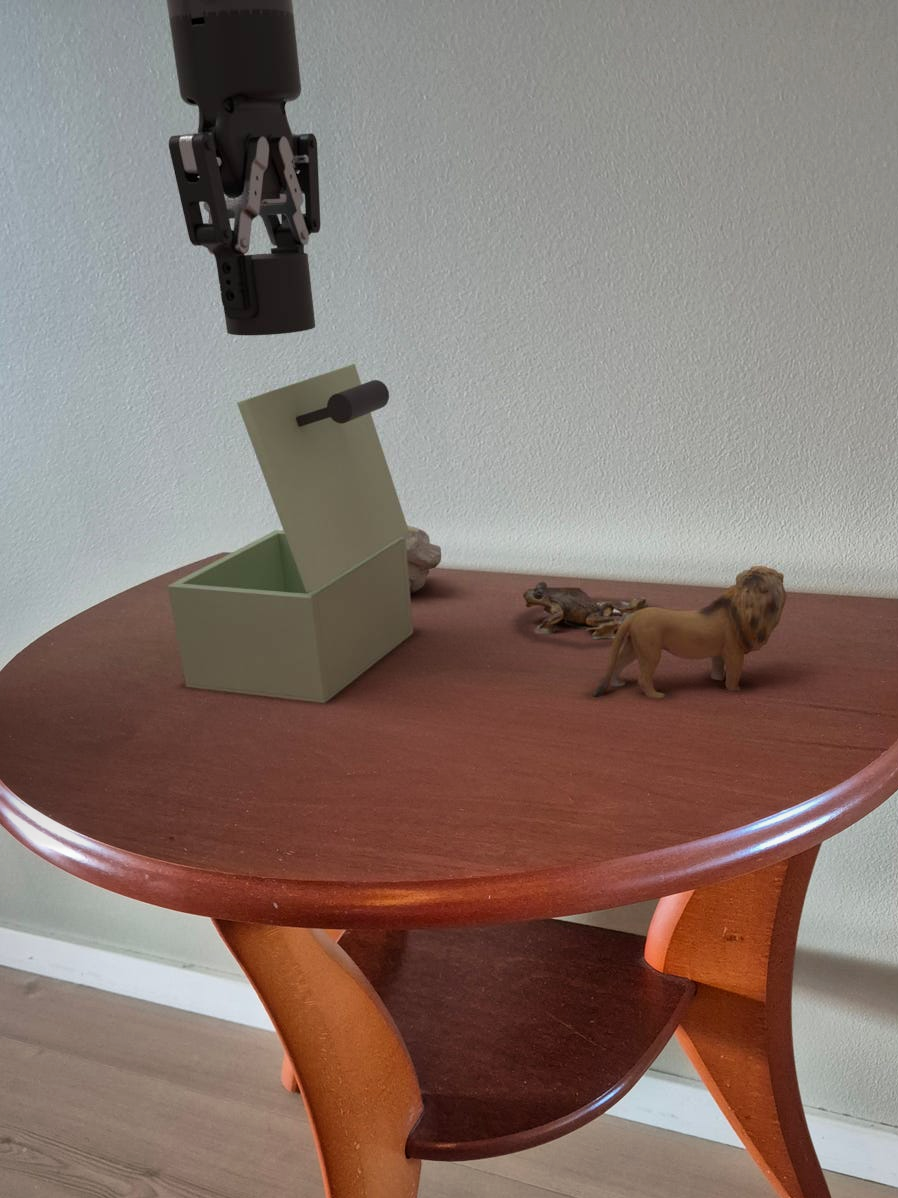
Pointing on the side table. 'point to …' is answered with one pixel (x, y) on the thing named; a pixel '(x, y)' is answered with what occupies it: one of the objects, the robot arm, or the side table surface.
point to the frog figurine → (579, 610)
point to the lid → (326, 470)
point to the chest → (288, 621)
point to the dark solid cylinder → (279, 296)
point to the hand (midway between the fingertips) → (268, 311)
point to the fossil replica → (420, 557)
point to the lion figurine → (701, 631)
